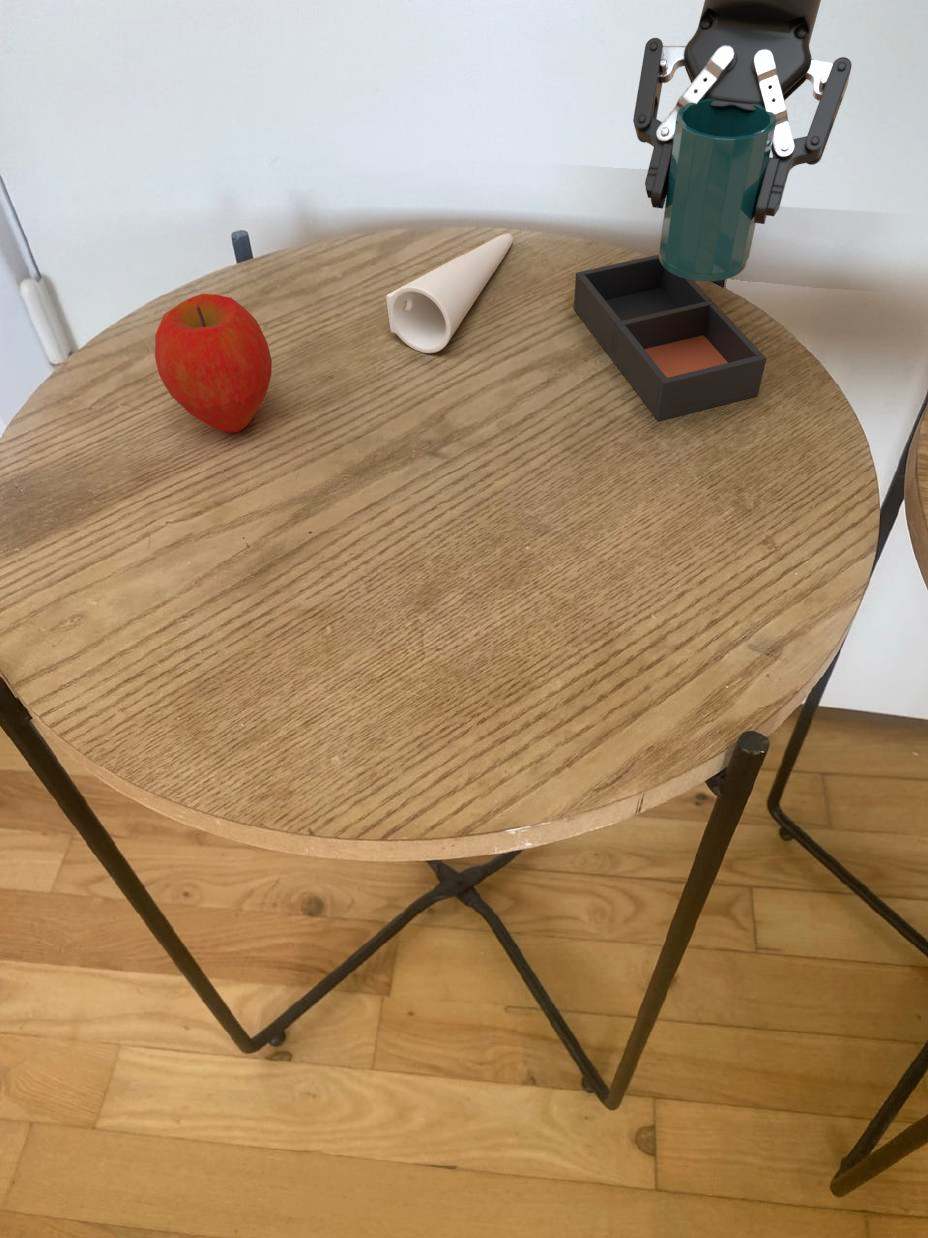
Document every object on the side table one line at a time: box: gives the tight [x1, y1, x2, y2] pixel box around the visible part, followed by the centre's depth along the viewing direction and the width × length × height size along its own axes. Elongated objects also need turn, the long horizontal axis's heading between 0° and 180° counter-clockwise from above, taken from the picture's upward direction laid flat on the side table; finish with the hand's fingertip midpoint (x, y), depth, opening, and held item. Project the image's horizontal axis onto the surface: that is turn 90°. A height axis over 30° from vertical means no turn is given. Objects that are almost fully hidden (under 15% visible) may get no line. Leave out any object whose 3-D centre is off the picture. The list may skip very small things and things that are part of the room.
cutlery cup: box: [658, 98, 776, 283], centre depth 67 cm, size 6×6×10 cm
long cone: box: [385, 232, 514, 354], centre depth 86 cm, size 6×6×19 cm
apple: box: [154, 293, 273, 434], centre depth 73 cm, size 9×8×11 cm
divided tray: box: [573, 253, 767, 422], centre depth 80 cm, size 17×9×4 cm, turn 19°
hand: (707, 211), depth 66 cm, fingers closed on cutlery cup, 6 cm apart
